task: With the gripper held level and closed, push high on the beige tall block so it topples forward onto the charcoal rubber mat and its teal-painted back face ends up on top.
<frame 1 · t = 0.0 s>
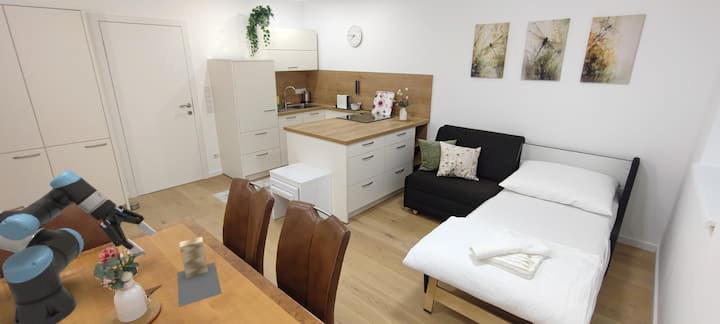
hand: (147, 243, 126), 15 cm above the table, tool tilted 35°, fingers open, 13 cm apart
shard: (142, 297, 120), on the table
rubber mat: (198, 284, 126), on the table
beige tall block: (197, 272, 132), point 1 cm above the table, touching rubber mat
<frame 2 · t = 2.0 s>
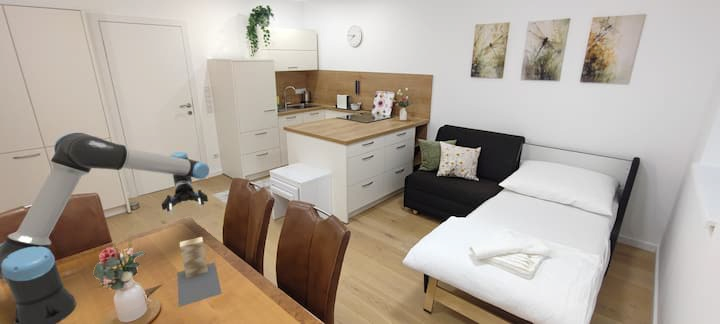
hand: (186, 209, 134), 24 cm above the table, tool horizontal, fingers open, 10 cm apart
nothing on the table moved.
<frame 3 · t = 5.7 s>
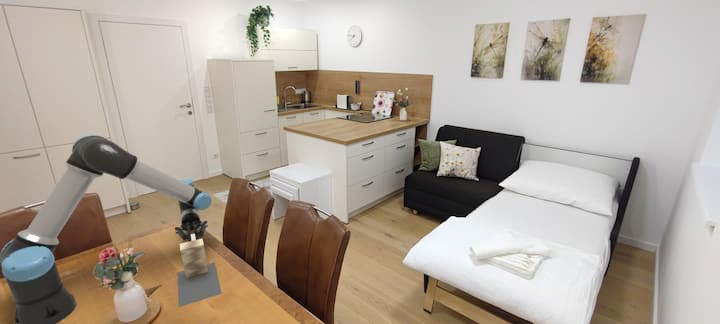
hand: (194, 244, 129), 13 cm above the table, tool horizontal, fingers closed
beige tall block: (196, 271, 132), point 1 cm above the table, tilted 9°, touching gripper, rubber mat
everything else where it was.
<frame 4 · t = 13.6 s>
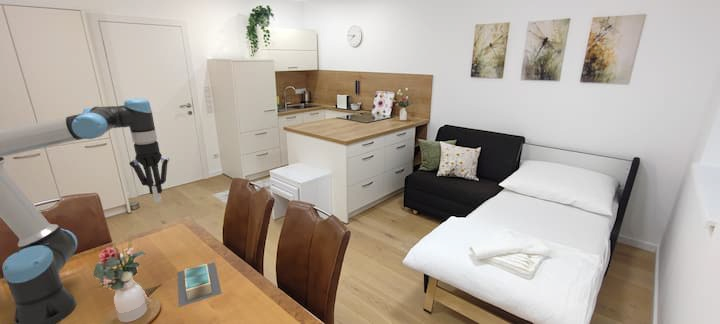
hand: (158, 200, 127), 30 cm above the table, tool pointing down, fingers closed
beige tall block: (196, 270, 129), point 3 cm above the table, tilted 90°, touching rubber mat
everything else where it was.
at the end: beige tall block tilted 90°; beige tall block inside the target area (0.6 cm from its centre), point 2.8 cm above the table; beige tall block touching rubber mat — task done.
